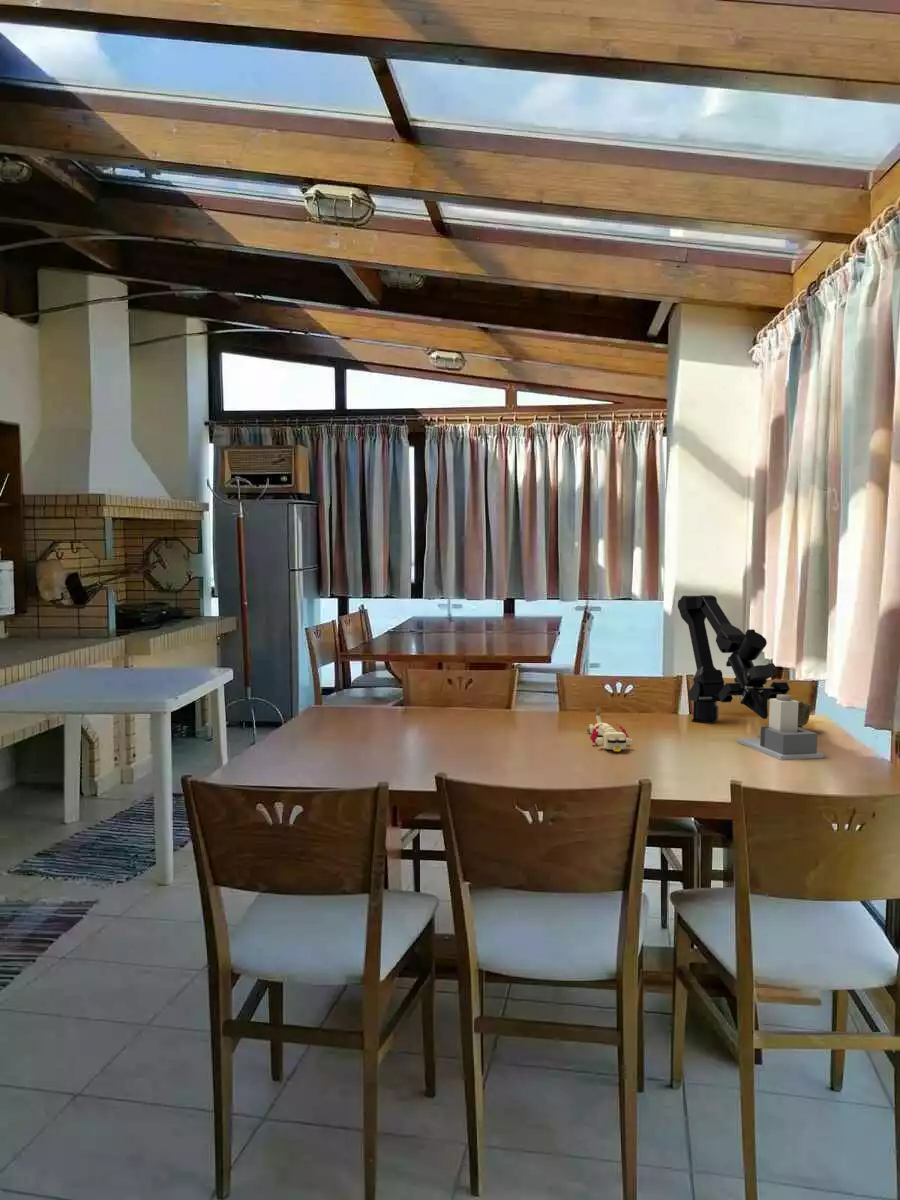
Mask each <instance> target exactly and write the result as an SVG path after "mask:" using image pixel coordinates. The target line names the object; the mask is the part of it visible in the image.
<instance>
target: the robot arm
mask: <svg viewBox="0 0 900 1200" xmlns="http://www.w3.org/2000/svg"><path fill="white" fill-rule="evenodd" d="M677 609H678V611H679V615H680V617H681V619H682V620H683V621H684V622H685V623H686V624H687V626H688V630H689V636H690V641H691V644H692V645H691V646H692V650H693V656H694V662H695V666H696V672H695V674H694V677H693V678H692V680H693V685H692V686H691V687H690V690H689V691H688V692H687V694H688V700H689V701H691V702H693V714H692V715H693V717H692V718H691V722H696V721H701V722H700V723H705V722H708V724H715V723H716V722H717V721H718V720H719V711H720V709H719V705H718V702H721V703H731V702H732V700H733V699H734V698H733V696H734V697H736V696H737V697H741V700H740V704H741V705H744V706H746V707H747V708H748V709H750V710H751V711H752V712H754V713H755V714H756V715H758V716H759V717H760V718H761V719H763V720H767V719H768V718H769V713H768V712H769V711H768V701H770V699H775V698H777V695H778V694H786V695H788V693H789V692H790V690H791V687H790V686H789V684H788V682H787V681H772V683H771V684H770V686H764V685H766V684H767V683H768V680H769V679H770V678H771V679H772V678H774V677H773V676H776V675H777V674H778V669H777V667H776V665H775V663H771V662H770V663H767V664H765V665H764V664H760V665H754V662H753V661H755V660H757V659H758V657H759V656H760V655H761V653H762V652H763V651H764V649H765V648H766V646H767V644H768V642H767V639H766V637H764V636H763V635H762V634H761V633H758V632H756V631H755V629H747V630H746V632H745V633H744V632H743V631H742V630H741V628H738V627H736V626H734V625H733V624H732V623H731V622H730V620H729V618H728V617H727V616H726V614H725V612H724V611H723V609H722V607H721V606H720V605H719V603H718V600H717V597H716V596H714V595H712V594H711V595H710V594H707V595H706V594H705V595H704V594H703V595H702V594H701V595H681V596H680V599H679V600H678V601H677ZM706 620H707V621H708V623H709V624H710V626H711V628H712V629H713V631H714V632H715V634H716V637H715V642H716V645H717V647H718V649H719V651H720V652H721V653H722V654H730V656H728V657H727V661H726V662H725V666H726V667H730V668H731V669H732V671H733V674H734V676H735V677H734V680H733V681H734V682H726V683H725V680H724V678H723V677H724V676H723V671H722V670H721V669H717V668H716V667H715V666H714V662H713V661H714V660H713V656H712V652H711V647H710V642H709V636H708V633H707V628H706V623H705V621H706ZM716 720H717V721H716ZM715 721H716V722H715Z"/></svg>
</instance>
